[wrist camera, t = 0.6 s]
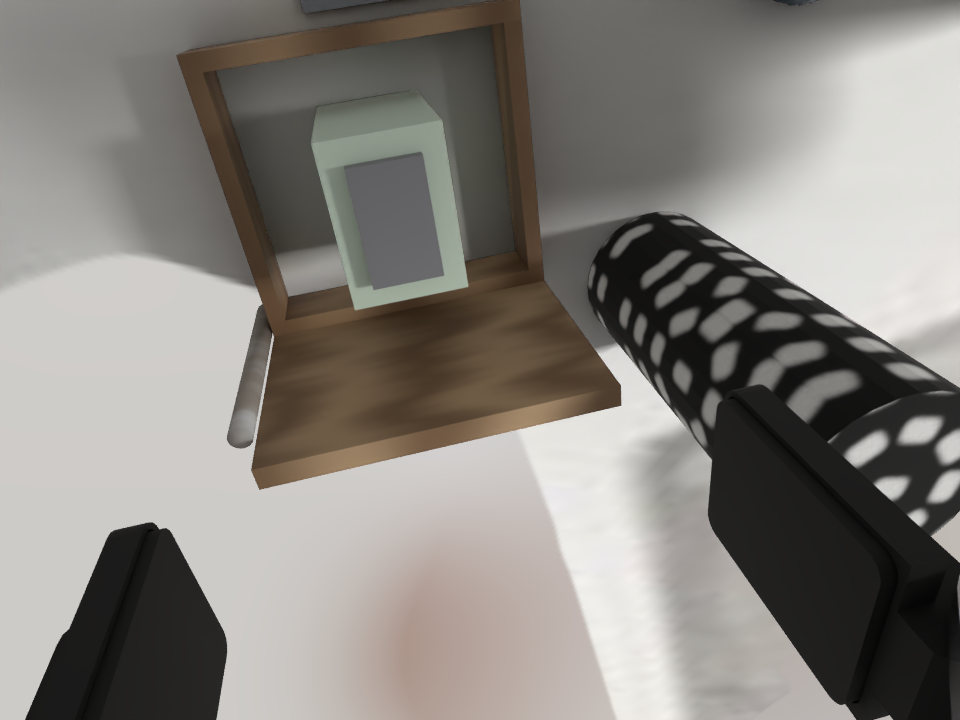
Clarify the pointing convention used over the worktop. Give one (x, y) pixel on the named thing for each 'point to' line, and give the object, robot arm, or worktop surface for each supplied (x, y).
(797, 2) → the dark blue pouch
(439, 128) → the module
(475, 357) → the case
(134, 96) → the worktop surface
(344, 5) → the mat
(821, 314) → the white-spotted black cylinder
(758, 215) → the worktop surface
